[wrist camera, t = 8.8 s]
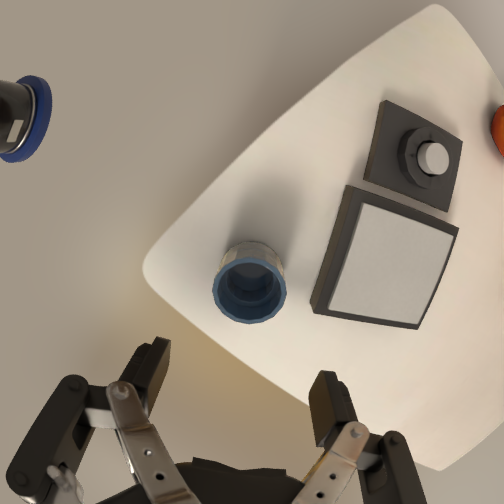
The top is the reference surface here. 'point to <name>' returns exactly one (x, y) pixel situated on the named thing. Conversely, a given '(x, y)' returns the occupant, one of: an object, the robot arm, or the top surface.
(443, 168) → the button
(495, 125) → the fruit
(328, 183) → the top surface
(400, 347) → the top surface
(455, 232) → the scale
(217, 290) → the cup
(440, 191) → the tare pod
